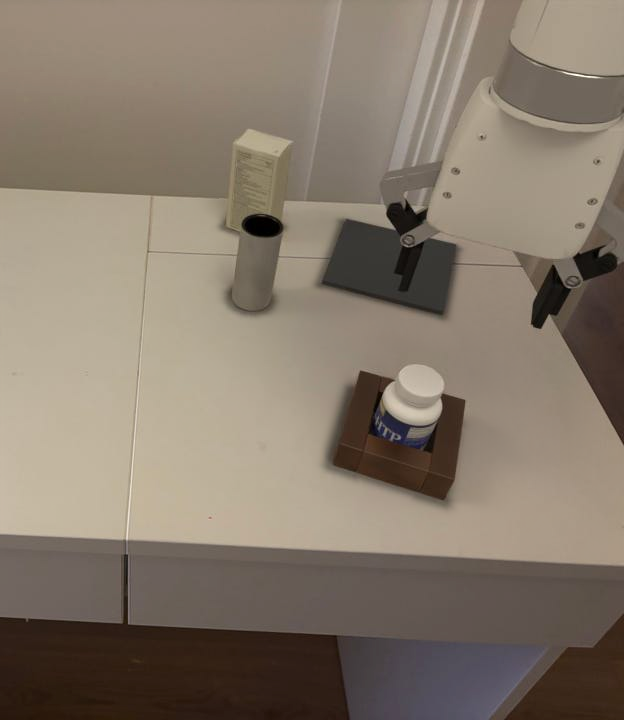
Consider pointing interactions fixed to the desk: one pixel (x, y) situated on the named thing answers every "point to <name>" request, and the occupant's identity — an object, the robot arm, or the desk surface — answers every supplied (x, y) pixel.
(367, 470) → the holder
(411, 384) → the pill bottle
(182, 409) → the desk surface
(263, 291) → the grey hollow tube
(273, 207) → the cosmetic box
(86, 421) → the desk surface
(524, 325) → the desk surface
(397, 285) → the mat
